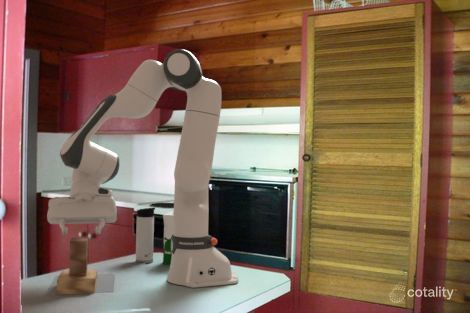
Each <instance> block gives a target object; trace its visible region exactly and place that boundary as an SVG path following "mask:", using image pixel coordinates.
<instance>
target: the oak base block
mask: <svg viewBox="0 0 470 313" xmlns="http://www.w3.org/2000/svg"><path fill="white" fill-rule="evenodd" d="M97 275H98V269H87V274H86V276H73V277H69V269H68V270H66V269H65V270H61V272H60V274H59V275H58V276H59V277H58V279H57V294H56V295H70V294H71V295H72V294H74V293H78V294H96V293H95V290H96V286H97Z"/></svg>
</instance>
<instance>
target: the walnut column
mask: <svg viewBox="0 0 470 313" xmlns="http://www.w3.org/2000/svg"><path fill="white" fill-rule="evenodd" d="M88 256H89V238H88V237H71V239H70V240H69V262H68V263H69V264H68V265H69V267H68V268H69V269H68V270H69V277H73V276H86V274H87V270H88Z"/></svg>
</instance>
